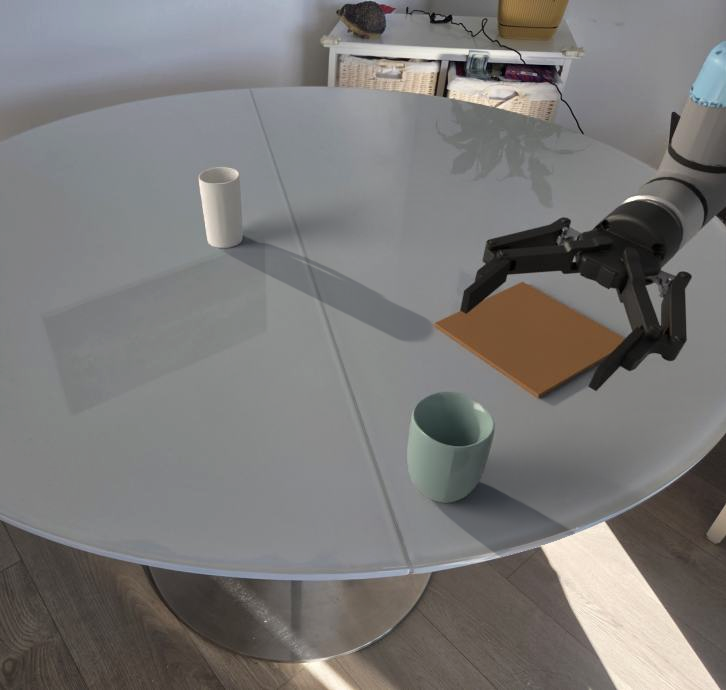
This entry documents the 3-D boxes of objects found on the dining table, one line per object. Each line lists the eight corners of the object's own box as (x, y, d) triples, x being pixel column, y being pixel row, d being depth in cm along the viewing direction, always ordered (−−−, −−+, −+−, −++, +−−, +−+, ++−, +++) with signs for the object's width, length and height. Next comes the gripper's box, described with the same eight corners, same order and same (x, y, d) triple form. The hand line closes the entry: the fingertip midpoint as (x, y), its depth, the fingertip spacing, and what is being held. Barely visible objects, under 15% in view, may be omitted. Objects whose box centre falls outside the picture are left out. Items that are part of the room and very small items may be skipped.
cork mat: (629, 344, 85) (631, 341, 84) (537, 398, 78) (539, 394, 77) (521, 284, 97) (522, 281, 97) (433, 326, 90) (434, 322, 90)
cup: (493, 490, 67) (512, 424, 61) (441, 526, 64) (455, 461, 58) (439, 446, 73) (451, 380, 66) (388, 477, 69) (395, 412, 63)
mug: (244, 248, 110) (239, 182, 102) (205, 250, 110) (197, 185, 102) (244, 220, 117) (239, 158, 110) (208, 222, 117) (200, 160, 110)
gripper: (755, 315, 63) (646, 443, 54) (531, 212, 76) (415, 301, 68) (796, 256, 57) (681, 389, 49) (546, 156, 71) (422, 246, 62)
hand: (526, 338), depth 58 cm, fingers open, 13 cm apart
